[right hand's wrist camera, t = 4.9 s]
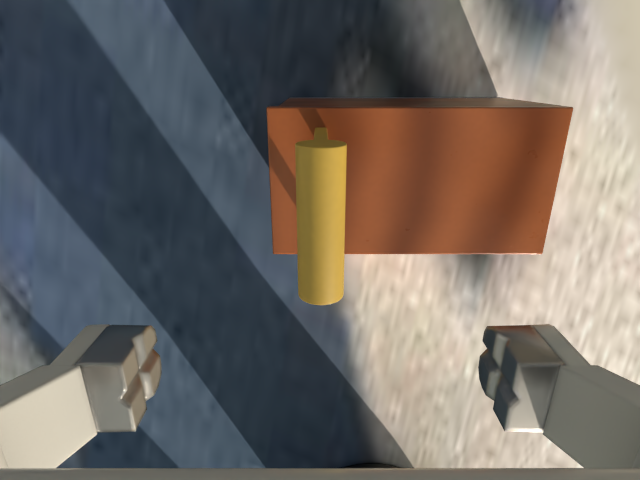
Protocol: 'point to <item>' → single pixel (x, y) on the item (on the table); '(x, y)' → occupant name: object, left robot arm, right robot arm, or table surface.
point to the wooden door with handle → (409, 183)
